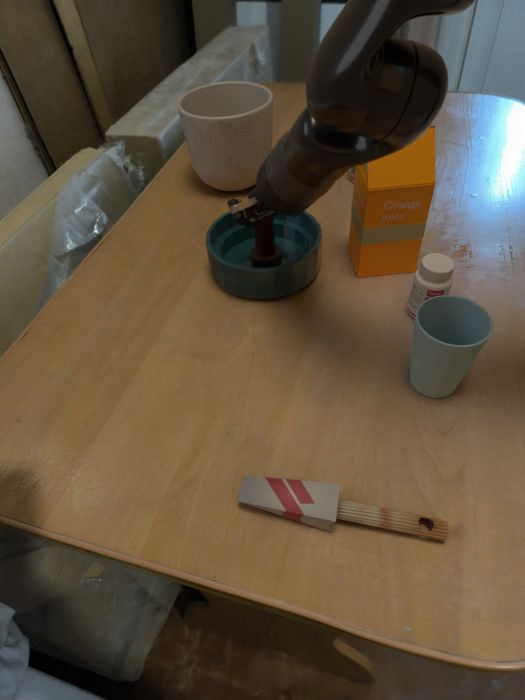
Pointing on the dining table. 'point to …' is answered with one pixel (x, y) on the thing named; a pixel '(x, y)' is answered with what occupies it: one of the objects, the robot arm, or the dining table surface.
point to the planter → (228, 131)
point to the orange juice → (392, 209)
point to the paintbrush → (329, 506)
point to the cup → (446, 343)
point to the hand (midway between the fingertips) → (257, 216)
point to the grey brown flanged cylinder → (265, 245)
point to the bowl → (271, 282)
